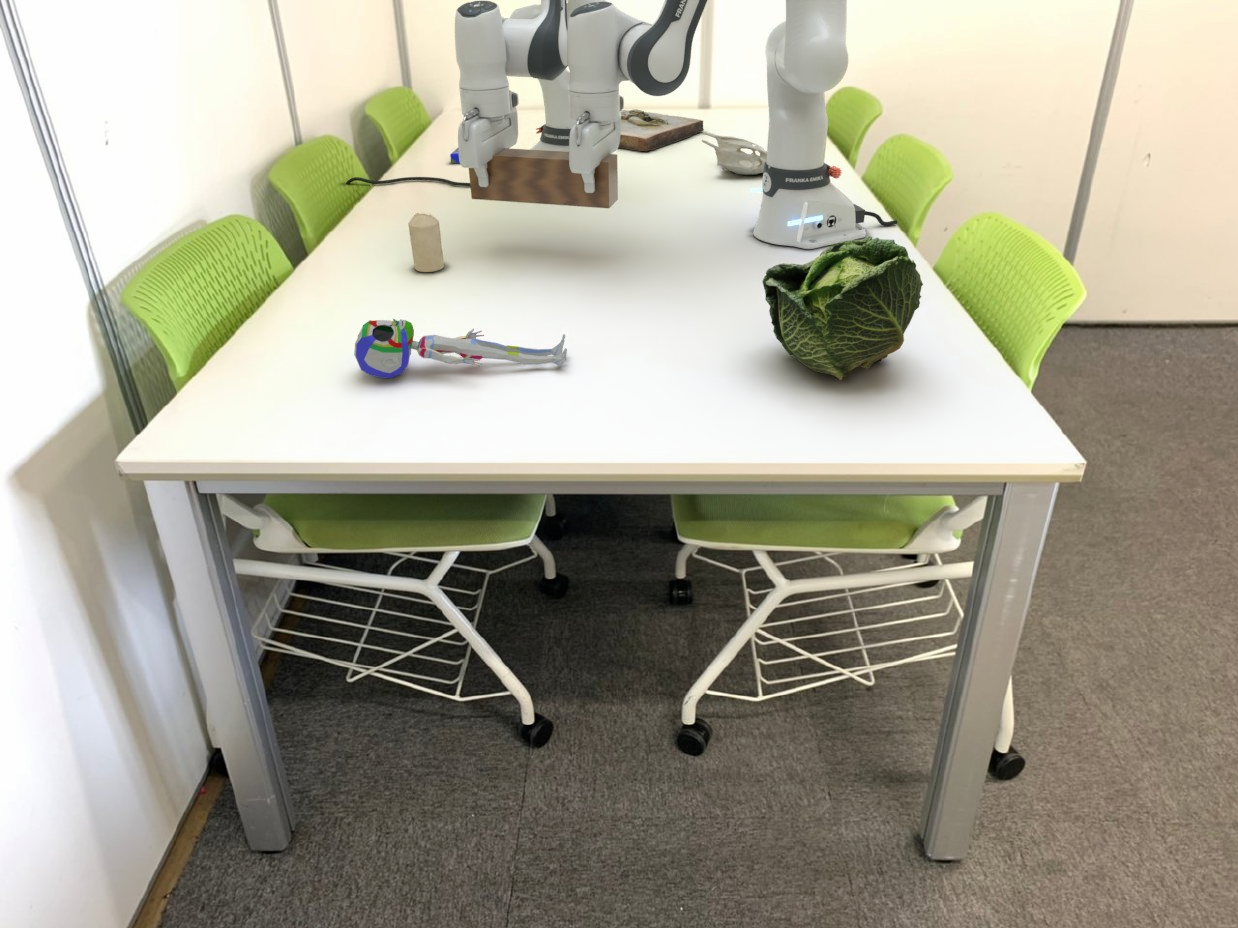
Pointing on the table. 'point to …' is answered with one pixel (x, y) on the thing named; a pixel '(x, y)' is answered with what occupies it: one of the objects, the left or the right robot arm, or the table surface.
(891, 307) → the vegetable
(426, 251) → the candle
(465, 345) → the toy
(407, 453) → the table surface
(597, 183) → the bar
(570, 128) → the left robot arm
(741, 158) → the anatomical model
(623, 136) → the plaque
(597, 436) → the table surface
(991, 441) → the table surface
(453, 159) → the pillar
